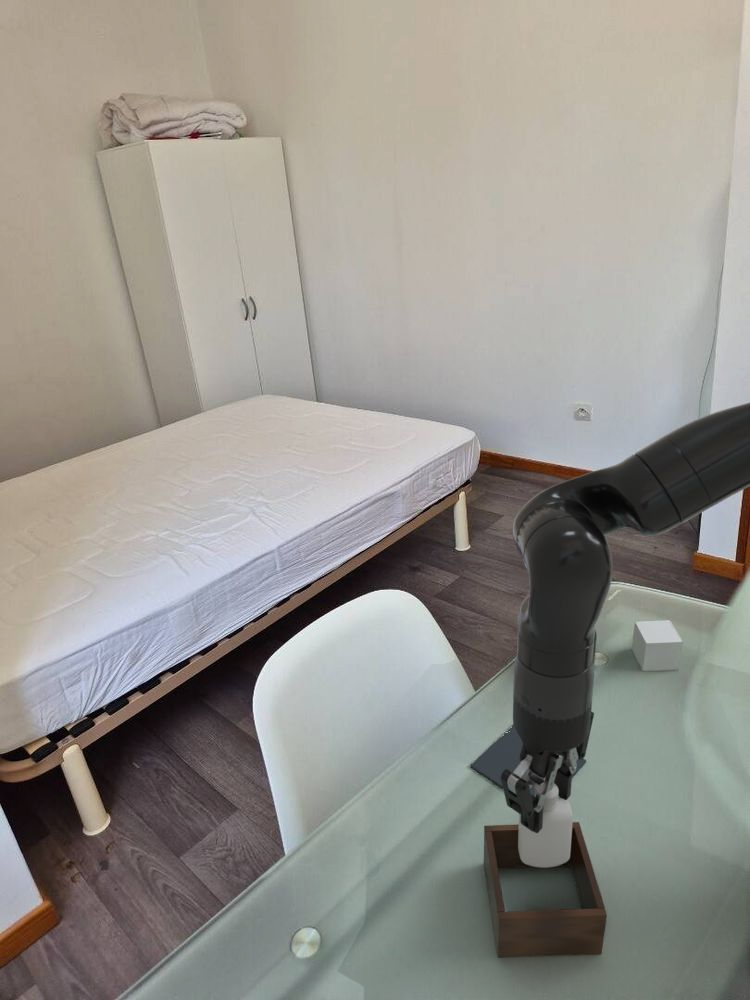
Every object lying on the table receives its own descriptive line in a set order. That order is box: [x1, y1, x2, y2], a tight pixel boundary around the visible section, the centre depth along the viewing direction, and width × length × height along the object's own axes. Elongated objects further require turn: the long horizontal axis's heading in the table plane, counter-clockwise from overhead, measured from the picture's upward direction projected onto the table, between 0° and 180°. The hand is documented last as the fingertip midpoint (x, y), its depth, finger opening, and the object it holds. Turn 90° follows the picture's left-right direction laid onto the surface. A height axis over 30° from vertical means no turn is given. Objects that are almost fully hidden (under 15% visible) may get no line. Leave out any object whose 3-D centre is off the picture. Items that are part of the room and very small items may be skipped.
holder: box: [483, 821, 608, 958], centre depth 81 cm, size 12×12×7 cm
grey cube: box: [631, 619, 684, 672], centre depth 118 cm, size 6×6×6 cm
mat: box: [470, 724, 587, 796], centre depth 101 cm, size 12×12×1 cm
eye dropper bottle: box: [518, 778, 574, 869], centre depth 75 cm, size 4×6×12 cm
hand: (546, 809), depth 75 cm, fingers closed on eye dropper bottle, 5 cm apart
